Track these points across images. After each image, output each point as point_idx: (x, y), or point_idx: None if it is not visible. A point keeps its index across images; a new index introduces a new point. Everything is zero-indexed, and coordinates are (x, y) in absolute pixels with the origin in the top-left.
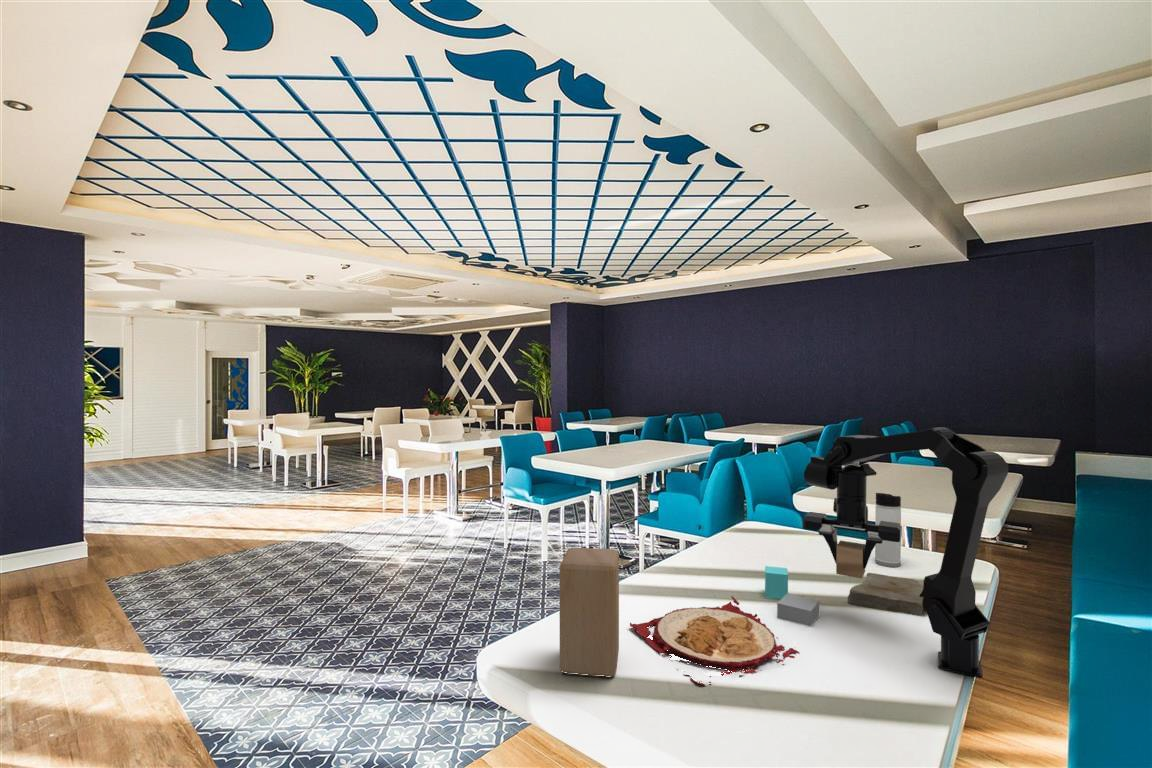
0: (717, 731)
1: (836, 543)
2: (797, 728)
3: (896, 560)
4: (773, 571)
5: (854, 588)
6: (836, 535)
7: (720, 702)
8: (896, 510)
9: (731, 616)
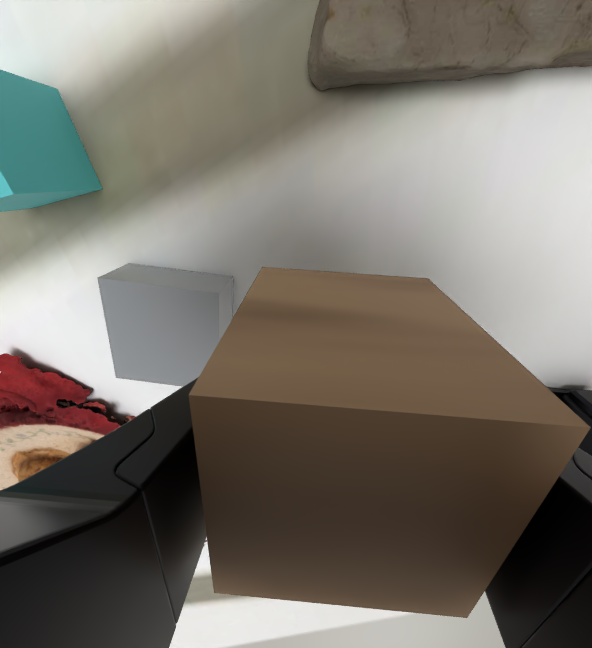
0: (212, 627)
1: (182, 501)
2: (282, 610)
3: None
4: None
5: (342, 25)
6: (98, 557)
7: (192, 599)
8: None
9: (61, 433)
